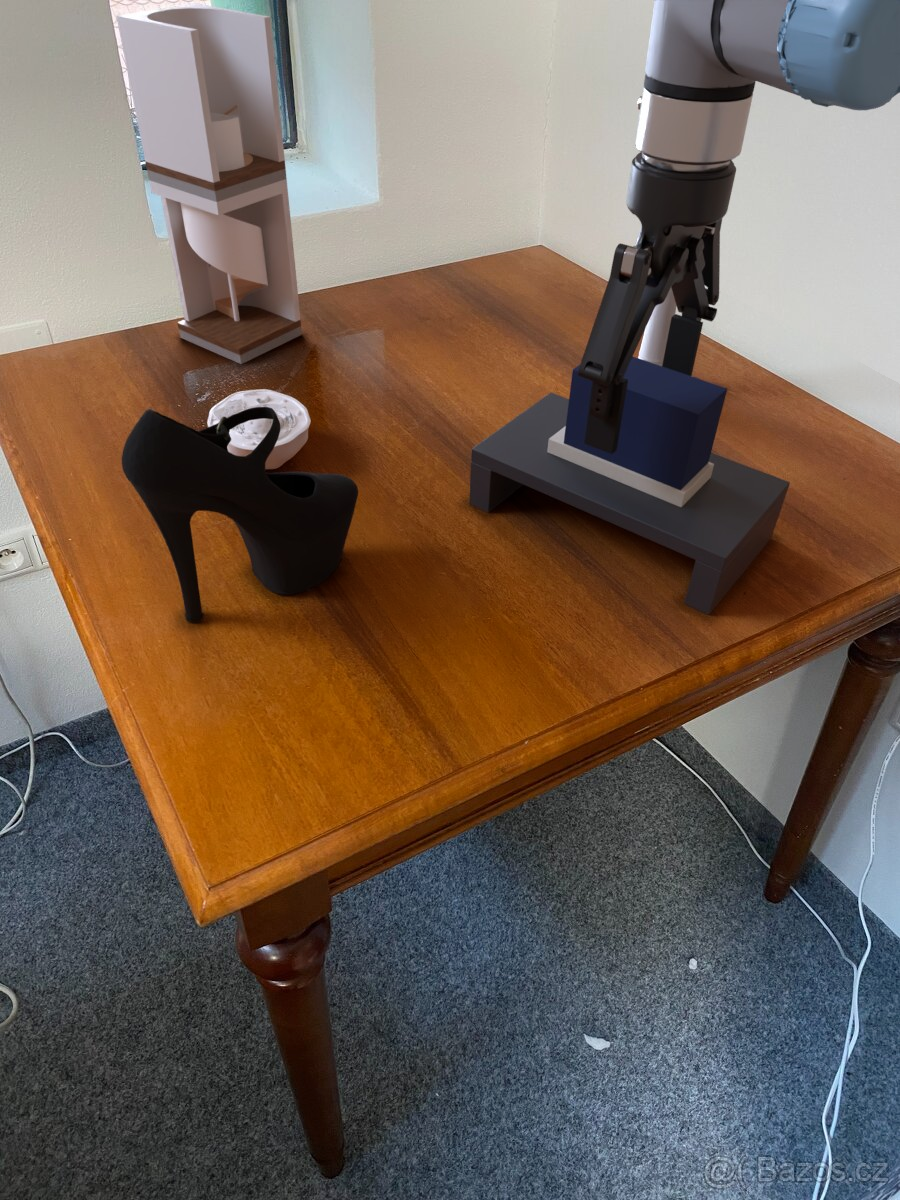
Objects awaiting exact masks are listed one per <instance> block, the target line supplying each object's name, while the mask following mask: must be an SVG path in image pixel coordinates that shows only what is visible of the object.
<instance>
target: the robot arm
mask: <svg viewBox="0 0 900 1200" xmlns="http://www.w3.org/2000/svg"><path fill="white" fill-rule="evenodd" d="M644 69H645V70H644V81H643V88H642V94H641V95H640V96H639V97H638V99H637V101H636V108H637V109H638V110H639V115H638V122H637V129H636V136H635V142H634V145H635V147H636V149H637V151H638V152H639V153H637V154H636V155H635V156H634V158H633V159H632V160H631V165H630V174H629V180H628V185H627V194H626V206H627V209H628V211H629V212H630V213H631V214H632V215H634V216H636V218H637V219H638V220H639V222H640V225H641V226H640V229H639V232H638V236H637V239H636V242H635V245H629V244H624V243H618V244H617V246H616V247H615V250H614V253H613V259H612V264H611V269H610V274H609V278H608V281H607V284H606V287H605V289H604V293H603V296H602V299H601V302H600V305H599V308H598V311H597V313H596V317H595V319H594V323H593V325H592V329H591V331H590V334H589V337H588V340H587V344H586V346H585V349H584V353H583V355H582V358H581V361H580V363H579V365H580V367H579V370H578V376H579V377H582V378H585V379H588V380H591V381H593V382H592V389H591V396H590V404H589V411H588V418H587V426H586V433H585V441H584V444H587V445H590V446H592V447H595V448H597V449H600V450H602V451H605V452H608V453H610V454H613V453H614V452H615V451H616V450H617V444H618V438H619V432H620V426H621V420H622V414H623V408H624V402H625V396H626V390H627V384H628V379H625V378H623V376H624V374H625V372H626V370H627V367H628V365H629V363H630V361H631V359H632V356H633V357H634V354H635V352H636V350H637V348H638V346H639V343H640V341H641V339H642V338H643V337H642V336H644V332H645V328H646V326H647V324H648V321H649V319H650V317H651V315H652V313H653V311H654V308H655V307H656V305H659V304H662V303H663V302H664V301H665V299H666V297H667V294H668V292H669V290H670V288H672V292H673V295H674V299H675V302H676V310H677V312H678V313H681V315H680V314H677V313H675V315H673V316H672V317H671V322H670V328H669V333H668V338H667V343H666V349H665V354H664V359H663V364H662V367H665V368H668V369H671V370H674V371H677V372H680V373H683V374H686V375H689V376H693V371H694V367H695V362H696V358H697V353H698V348H699V345H700V339H701V334H702V330H703V326H704V321H702V320H705V321H708V322H713V321H714V320H715V318H716V316H717V313H718V308H716V307H712V306H715V305H716V304H717V303H718V302H719V299H720V273H721V272H720V267H721V265H720V263H721V262H720V257H721V229H722V222H723V218H724V217H725V216H726V215H727V213H728V210H729V205H730V201H731V196H732V192H733V187H734V183H735V177H736V174H737V167H736V166H735V163H734V162H733V160H735V159H736V158H738V157H739V156H740V155H741V153H742V149H743V145H744V139H745V135H746V130H747V125H748V121H749V116H750V110H751V106H752V100H753V96H754V91H755V88H756V82H758V83H761V84H764V85H766V86H769V87H771V88H772V87H773V88H775V89H778V90H781V91H784V92H787V93H789V94H793V95H796V96H798V97H800V98H801V99H803V100H805V101H810V102H811V103H812V104H814V105H817V106H822V107H825V108H828V107H833V106H836V107H839V108H844V109H848V110H852V111H870V110H875V109H878V108H881V107H883V106H885V105H886V104H887V103H890V102H891V100H892V99H893V98H894V97H896V96H897V95H898V94H900V0H653V10H652V16H651V25H650V31H649V41H648V47H647V55H646V63H645V68H644ZM710 305H711V306H710Z"/></svg>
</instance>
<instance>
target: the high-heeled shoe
mask: <svg viewBox="0 0 900 1200" xmlns="http://www.w3.org/2000/svg"><path fill="white" fill-rule="evenodd" d="M264 418H265V419H273V423H272V426H271V428H270V430H269V432H268V433H267V435H266V436H265V437H264V439H263V440H262V441H261V442H260V443H259V445H258V446H257V447H256V448H255V449H254V450H253V451H252V453H251V454H249V455H247V456H236V455H234V454H232V453H230V452H228V449H227V446H228V444H229V443H230V441H231V437H230V435H229V432H230V429H232V428H234V427H236V426H237V425H239V424H242V423H245V422H247V421H249V420H255V419H264ZM279 434H280V422H279V419H278V417H277V415H276V413H275V411H274V410H273V409H272V408H269V407H255V408H250V409H246V410H244V411H241V412H239V413H237V414H234V415H232V416H230V417H228V418H226V417H224V416H223V417H222V418H221V419H220V421H219V423H217V424H215V425H213V426H211V427H208V426H207V427H206V428H203V429H201V430H196V429H194V428H192V427H190V426H187V425H186V424H184V423H182V422H179V421H178V420H175V419H173V418H171V417H169V416H167V415H164V414H161V413H159V412H158V411H155V410H153V409H152V408H147V409H146V410H145V411H144V412H143V414H142V415H141V416H140V417H139V419H138V421H137V422H136V423H135V425H134V426H133V428H132V430H131V431H130V433H129V435H128V436H127V437H126V441H125V443H124V445H123V449H122V453H121V455H122V456H121V468H122V471H123V474H124V476H125V478H126V479H127V480H128V482H130V483H131V485H132V487H133V488H134V490H135V491H136V493H137V494H138V496H139V497H140V499H141V500H142V502H143V503H144V505H145V507H146V509H147V510H148V512H149V513H150V515H151V517H152V518H153V521H154V522H155V524H156V527H158V529H159V531H160V534H161V536H162V537H163V541H164V542H165V544H166V548H167V549H168V551H169V554H170V557H171V559H172V562H173V565H174V568H175V570H176V571H175V572H176V574H177V577H178V581H179V585H180V591H181V596H182V600H183V606H184V618H185V621H187V622H188V623H198V622H201V621H203V619H204V613H203V609H202V608H203V607H202V601H201V594H200V588H199V587H200V585H199V578H198V577H199V576H198V572H197V571H198V570H197V564H196V556H195V550H194V542H193V533H192V527H191V520H192V518H193V516H194V515H195V513H196V512H211V513H217V514H221V515H224V516H226V517H228V519H230V520H232V522H234V524H235V525H236V527H237V529H238V531H239V533H240V535H241V538H242V540H243V543H244V546H245V548H246V551H247V553H248V556H249V560H250V564H251V572H252V573H253V575H254V576H255V578H256V579H257V580H258V581H259V582H260V583H261V585H262V586H263V587H264V588H266V589H267V590H268V591H271V592H272V593H275V594H277V595H280V596H290V595H296V594H300V593H303V592H306V591H309V590H310V589H312V588H314V587H316V586H317V585H320V584H321V583H322V582H323V581H325V580H326V579H328V578H329V577H330V576H331V575H332V574H333V573H334V572H335V571H336V569H337V568H338V566H339V565H340V563H341V561H342V558H343V555H344V548H345V545H346V542H347V538H348V535H349V532H350V531H349V530H350V527H351V524H352V521H353V517H354V514H355V510H356V505H357V501H358V497H359V489H358V485H357V484H356V482H355V481H354V480H353V479H351V478H350V477H348V476H347V475H344V474H339V473H322V472H306V471H286V472H285V471H283V472H266V469H265V462H266V460H267V458H268V456H269V455H270V453H271V452H272V450H273V448H274V446H275V444H276V442H277V440H278V437H279Z"/></svg>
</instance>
